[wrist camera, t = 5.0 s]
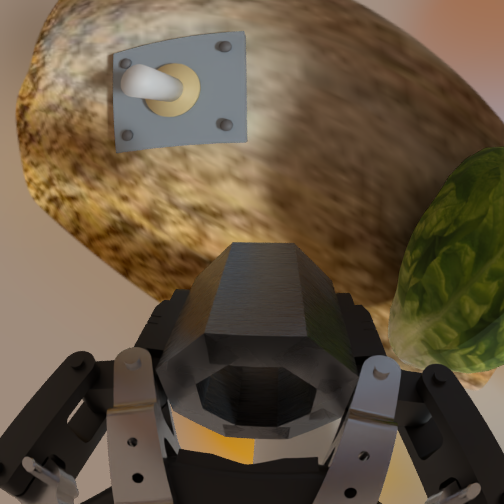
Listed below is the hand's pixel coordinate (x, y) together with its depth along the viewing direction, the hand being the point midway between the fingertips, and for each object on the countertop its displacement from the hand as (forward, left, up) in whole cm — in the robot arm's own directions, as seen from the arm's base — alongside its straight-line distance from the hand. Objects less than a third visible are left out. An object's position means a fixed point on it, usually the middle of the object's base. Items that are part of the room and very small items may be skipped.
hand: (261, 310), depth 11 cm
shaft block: (+8, -11, -15) cm, 20 cm away
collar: (0, 0, 0) cm, 0 cm away
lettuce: (-20, +3, -16) cm, 26 cm away
